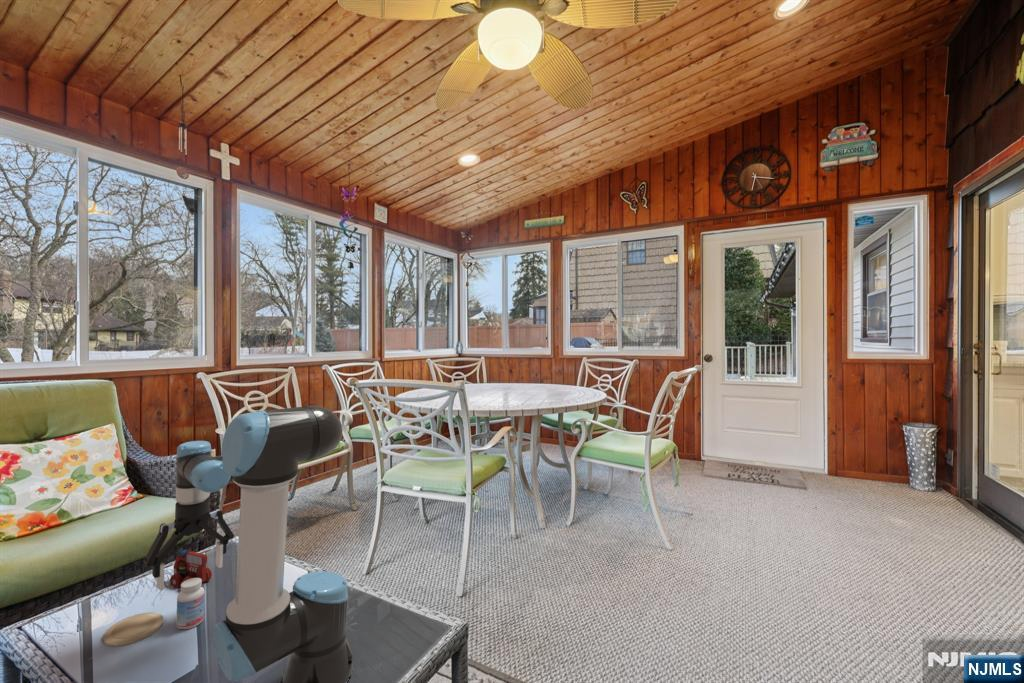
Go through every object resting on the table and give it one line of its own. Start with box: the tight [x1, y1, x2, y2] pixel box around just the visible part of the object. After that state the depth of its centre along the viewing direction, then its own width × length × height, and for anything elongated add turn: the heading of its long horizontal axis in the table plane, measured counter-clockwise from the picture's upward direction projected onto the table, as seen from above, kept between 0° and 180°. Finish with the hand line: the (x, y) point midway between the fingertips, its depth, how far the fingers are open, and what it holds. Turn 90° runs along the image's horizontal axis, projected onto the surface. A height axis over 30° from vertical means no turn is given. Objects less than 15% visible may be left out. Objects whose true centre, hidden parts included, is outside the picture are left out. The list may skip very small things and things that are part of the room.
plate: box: [102, 612, 164, 647], centre depth 117 cm, size 12×12×1 cm
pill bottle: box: [175, 578, 205, 630], centre depth 120 cm, size 6×6×11 cm
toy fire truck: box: [169, 549, 213, 589], centre depth 138 cm, size 7×12×10 cm, turn 72°
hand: (190, 576), depth 120 cm, fingers open, 13 cm apart
